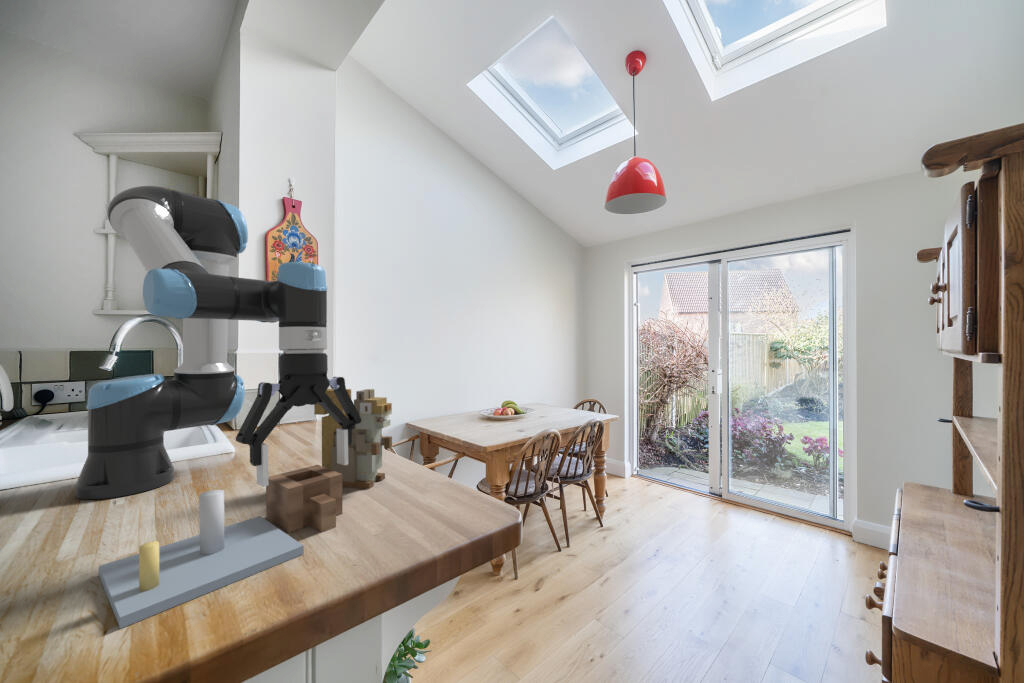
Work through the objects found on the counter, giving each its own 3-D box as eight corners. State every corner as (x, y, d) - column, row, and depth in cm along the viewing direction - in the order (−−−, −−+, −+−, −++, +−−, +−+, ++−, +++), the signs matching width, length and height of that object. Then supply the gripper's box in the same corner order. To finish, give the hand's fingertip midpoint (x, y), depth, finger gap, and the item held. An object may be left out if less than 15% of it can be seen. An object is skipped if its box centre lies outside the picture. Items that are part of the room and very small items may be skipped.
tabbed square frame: (266, 517, 70) (265, 477, 70) (318, 501, 77) (317, 464, 77) (300, 540, 61) (299, 494, 61) (354, 519, 69) (354, 478, 69)
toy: (382, 489, 82) (381, 392, 82) (309, 484, 86) (308, 391, 86) (397, 479, 89) (396, 389, 89) (328, 474, 92) (328, 387, 92)
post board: (98, 575, 53) (98, 505, 53) (259, 523, 67) (259, 468, 67) (120, 628, 43) (119, 542, 43) (303, 553, 58) (303, 489, 58)
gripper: (227, 354, 58) (229, 500, 58) (378, 350, 78) (380, 459, 78) (211, 354, 63) (212, 489, 63) (357, 350, 82) (359, 453, 82)
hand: (305, 473), depth 70 cm, fingers open, 13 cm apart
